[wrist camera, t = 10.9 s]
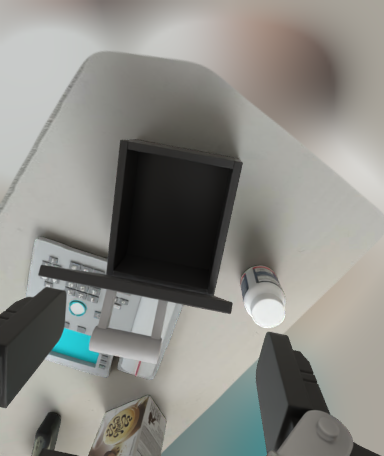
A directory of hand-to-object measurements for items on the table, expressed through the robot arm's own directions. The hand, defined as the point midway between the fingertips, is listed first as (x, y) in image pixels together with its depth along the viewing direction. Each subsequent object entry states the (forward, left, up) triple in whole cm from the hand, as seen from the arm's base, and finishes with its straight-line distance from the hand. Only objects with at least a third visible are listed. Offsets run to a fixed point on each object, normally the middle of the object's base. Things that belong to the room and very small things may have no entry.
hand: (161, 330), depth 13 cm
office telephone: (+22, -12, -32) cm, 41 cm away
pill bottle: (+11, +10, -32) cm, 36 cm away
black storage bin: (+3, -3, -32) cm, 32 cm away
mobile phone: (+50, -19, -32) cm, 62 cm away
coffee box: (+40, -4, -32) cm, 52 cm away
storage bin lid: (+7, -3, -17) cm, 19 cm away
